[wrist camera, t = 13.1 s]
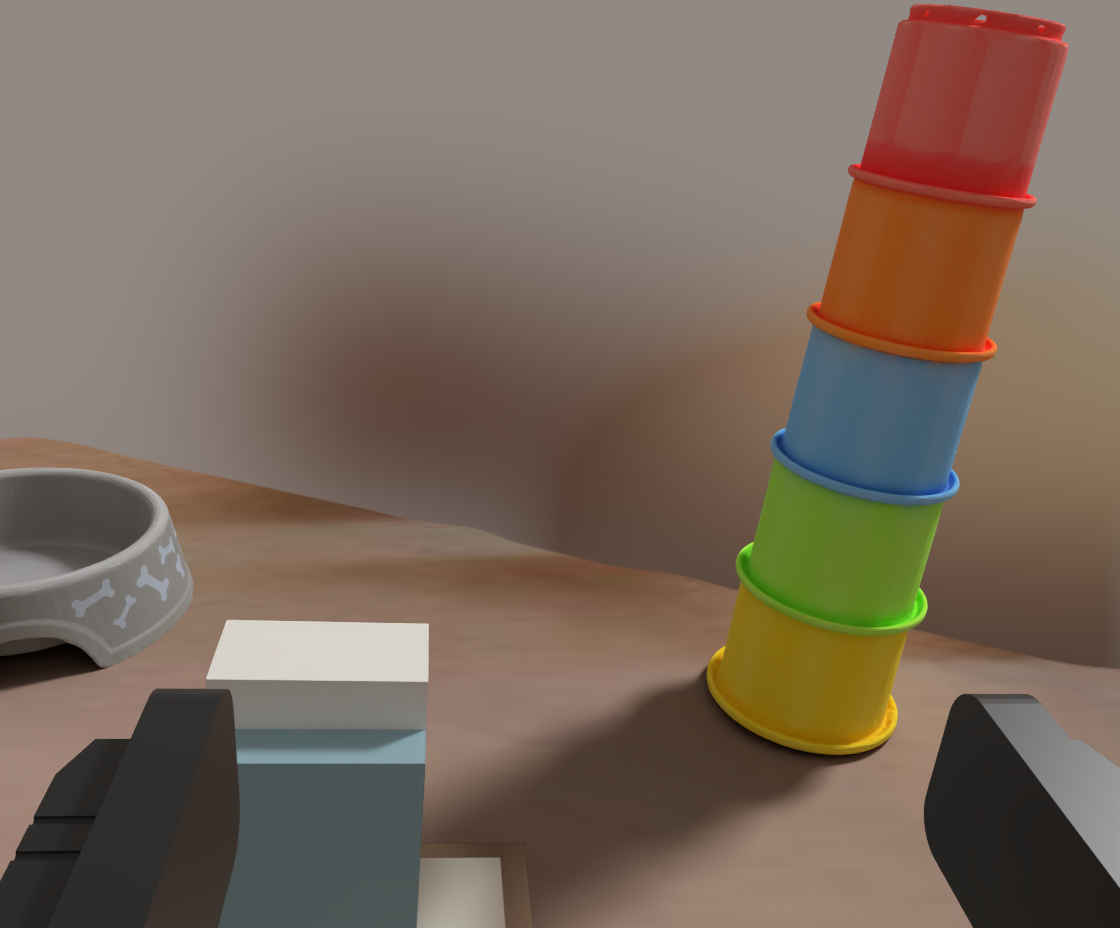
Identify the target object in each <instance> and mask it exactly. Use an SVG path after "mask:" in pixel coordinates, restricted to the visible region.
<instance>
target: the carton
mask: <svg viewBox="0 0 1120 928" xmlns="http://www.w3.org/2000/svg"><path fill="white" fill-rule="evenodd" d="M428 638H429V624H409V623H357V622H305V621H254V620H227V621H226V624H225V627H224V630H223V632H222V635H221V638H220V641H219V644H218V647H217V649H216V652H215V655H214V658H213V661H212V664H211V666H210V669H209V672H208V675H207V678H206V689H229V690H230V692H231V695H232V700H233V708H234V722H235V737H236V752H237V766H238V781H239V796H240V824H239V836H238V845H237V851H236V857H235V862H234V867H233V871H232V875H231V878H230V882H229V886H228V890H227V894H226V898H225V902H224V906H223V910H222V913H221V917H220V921H219V925H218V928H417V911H418V893H419V874H420V855H421V836H422V817H423V798H424V779H425V745H426V714H427V695H428Z"/></svg>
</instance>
